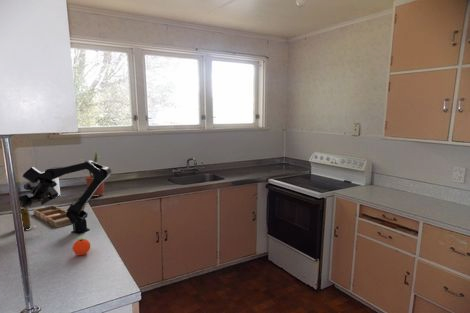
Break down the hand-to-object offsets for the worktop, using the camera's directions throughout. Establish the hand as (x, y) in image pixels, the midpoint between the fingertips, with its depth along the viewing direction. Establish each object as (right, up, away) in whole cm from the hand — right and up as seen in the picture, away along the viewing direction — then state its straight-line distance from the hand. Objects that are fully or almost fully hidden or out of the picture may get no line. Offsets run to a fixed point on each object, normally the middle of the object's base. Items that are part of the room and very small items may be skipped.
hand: (33, 206), depth 158 cm
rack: (-1, -10, +20) cm, 23 cm away
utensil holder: (-33, -4, +67) cm, 75 cm away
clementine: (+41, -16, -28) cm, 52 cm away
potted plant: (0, -4, +67) cm, 67 cm away
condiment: (-7, -13, +4) cm, 15 cm away
